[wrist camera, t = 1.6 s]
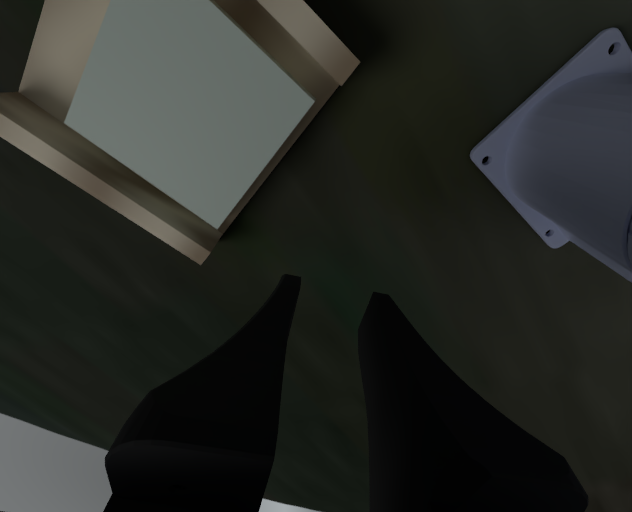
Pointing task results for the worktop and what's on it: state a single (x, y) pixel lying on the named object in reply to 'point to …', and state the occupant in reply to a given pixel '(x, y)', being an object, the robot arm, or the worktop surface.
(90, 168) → the slide case
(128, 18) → the cover plate
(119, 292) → the worktop surface
